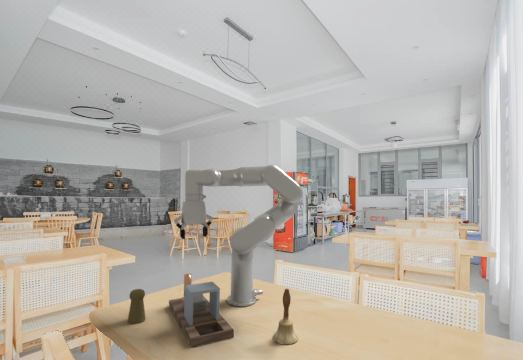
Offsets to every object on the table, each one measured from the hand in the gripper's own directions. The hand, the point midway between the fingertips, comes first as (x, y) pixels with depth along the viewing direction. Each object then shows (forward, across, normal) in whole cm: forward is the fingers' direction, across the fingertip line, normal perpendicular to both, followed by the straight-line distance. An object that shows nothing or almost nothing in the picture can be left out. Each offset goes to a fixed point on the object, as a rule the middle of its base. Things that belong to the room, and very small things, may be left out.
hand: (194, 237), depth 128 cm
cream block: (+25, +5, +14) cm, 29 cm away
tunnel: (+25, +5, +23) cm, 34 cm away
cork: (+27, +24, +8) cm, 37 cm away
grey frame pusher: (+24, +4, +9) cm, 26 cm away
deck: (+27, +5, +19) cm, 33 cm away
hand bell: (+28, -16, +45) cm, 56 cm away
